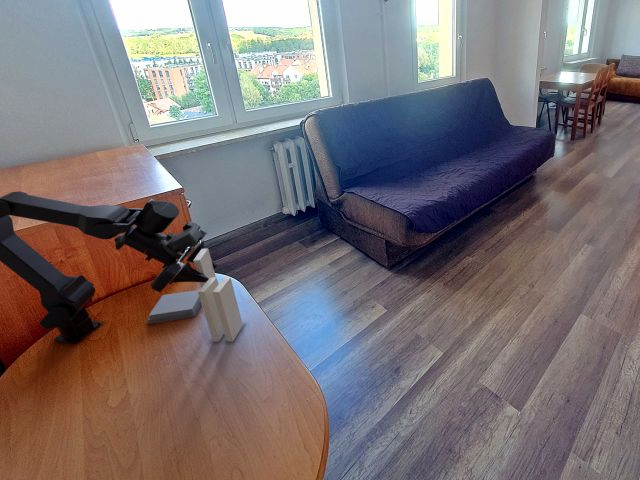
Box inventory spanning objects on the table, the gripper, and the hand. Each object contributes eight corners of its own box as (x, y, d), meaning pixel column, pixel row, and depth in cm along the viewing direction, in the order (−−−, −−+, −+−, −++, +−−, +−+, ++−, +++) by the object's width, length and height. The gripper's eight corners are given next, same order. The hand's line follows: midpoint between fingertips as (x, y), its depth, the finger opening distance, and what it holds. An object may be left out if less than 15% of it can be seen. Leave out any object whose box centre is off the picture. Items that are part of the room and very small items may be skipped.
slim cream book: (207, 309, 89) (193, 260, 83) (214, 296, 93) (201, 248, 88) (214, 309, 89) (200, 260, 83) (221, 295, 94) (208, 248, 88)
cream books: (212, 341, 84) (197, 291, 78) (224, 325, 89) (210, 277, 83) (232, 341, 84) (219, 292, 78) (243, 325, 89) (230, 277, 83)
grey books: (148, 324, 89) (145, 316, 88) (163, 302, 96) (160, 295, 95) (194, 316, 91) (192, 309, 90) (205, 295, 99) (203, 289, 98)
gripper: (151, 243, 72) (217, 277, 79) (190, 203, 90) (242, 233, 96) (121, 277, 74) (188, 308, 80) (165, 231, 91) (218, 259, 97)
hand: (212, 273), depth 88 cm, fingers closed on slim cream book, 5 cm apart
